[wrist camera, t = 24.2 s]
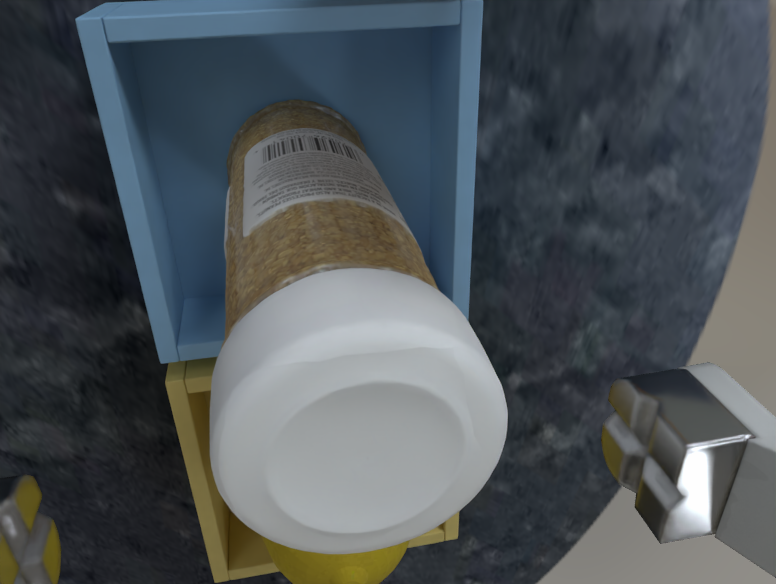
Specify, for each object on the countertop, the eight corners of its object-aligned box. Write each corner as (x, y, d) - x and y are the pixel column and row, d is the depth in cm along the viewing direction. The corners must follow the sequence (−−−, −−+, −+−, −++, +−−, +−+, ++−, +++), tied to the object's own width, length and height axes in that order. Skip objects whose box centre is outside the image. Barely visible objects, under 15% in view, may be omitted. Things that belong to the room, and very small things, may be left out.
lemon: (241, 462, 26) (241, 649, 20) (269, 352, 24) (279, 521, 17) (368, 472, 28) (409, 647, 21) (405, 370, 26) (464, 530, 19)
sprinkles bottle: (211, 209, 21) (172, 554, 9) (249, 73, 19) (257, 296, 8) (342, 245, 22) (445, 578, 11) (389, 122, 21) (571, 368, 9)
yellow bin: (217, 512, 28) (214, 583, 25) (174, 322, 23) (164, 382, 20) (436, 476, 30) (458, 539, 27) (440, 290, 25) (467, 342, 22)
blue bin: (171, 306, 23) (159, 364, 20) (103, 2, 18) (74, 17, 15) (440, 275, 25) (468, 324, 22) (446, -13, 20) (484, -1, 16)
